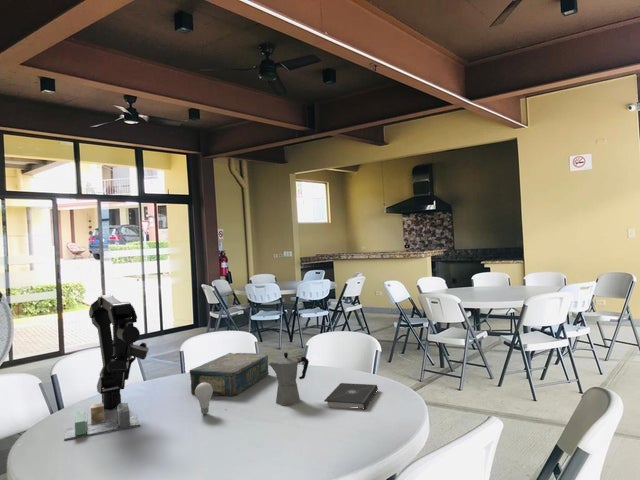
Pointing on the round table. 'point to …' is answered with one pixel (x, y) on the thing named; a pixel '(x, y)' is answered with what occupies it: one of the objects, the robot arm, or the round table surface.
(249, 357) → the metal box
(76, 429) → the block
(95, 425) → the grey angle bracket
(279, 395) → the coffeepot
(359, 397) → the book
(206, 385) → the lightbulb
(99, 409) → the tan wooden block
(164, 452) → the round table surface
